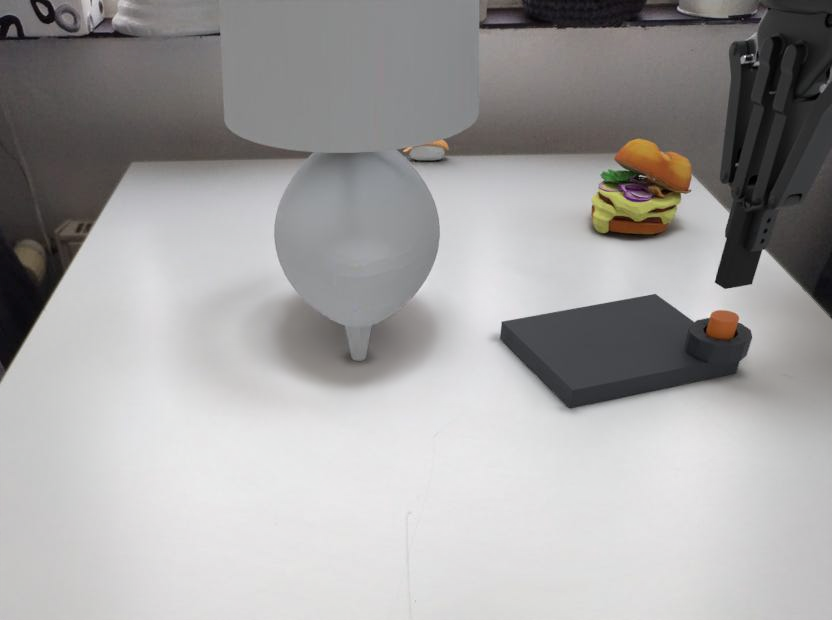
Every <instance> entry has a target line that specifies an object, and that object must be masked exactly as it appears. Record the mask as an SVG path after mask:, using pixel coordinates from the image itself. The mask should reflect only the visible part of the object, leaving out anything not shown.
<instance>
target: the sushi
mask: <svg viewBox="0 0 832 620" xmlns="http://www.w3.org/2000/svg"><path fill="white" fill-rule="evenodd" d="M449 150H450V148H449V145H448V143H447V142H446V141H445V139H442V140H439V141H436V142H432V143H428V144H423V145H419V146H414V147H408V148H404V150H403V151H402V152H403V153H407V152H409V156H410V159H413V160H416V161H420V162H421V161H438V160H441V159H443V158H444V157H445V154H446V153H445V152H446V151H447V152H449Z"/></svg>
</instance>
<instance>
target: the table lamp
mask: <svg viewBox="0 0 832 620" xmlns="http://www.w3.org/2000/svg"><path fill="white" fill-rule="evenodd" d="M218 11H219V12H218V14H219V33H220V34H219V36H220V55H221V58H220V59H221V77H222V98H223V117H224V119H223V121H224V124H225V126H226V128H227V129H229V131H231V132H232V133H233V134H235V135H236V136H238V137H239V138H242V139H244V140H248V141H250V142H252V143H255V144H259V145H262V146H267V147H271V148H276V149H283V150H288V151H297V152H307V153H311V154H310V155H309V156H308V157H307V158H306V159H305V160H304V161H303V163H301V165H300V166H299V167H298V169H297V170H296V171H295V172H294V174H293V175H292V177H291V179H290V180H289V182H288V184H287V186H286V187H285V189H284V191H283V194H282V196H281V197H280V200H279V203H278V206H277V209H276V213H275V219H274V225H273V226H274V227H273V228H274V229H273V237H274V247H275V250H276V251H275V252H276V255H277V259H278V262H279V265H280V267H281V270H282V272H283V274H284V276H285V277H286V279H287V281H288V282H289V284H290V285H291V286H292V288H293V289H294V291H295V292H296V293H297V294H298V295H299V296H300V297H301V298H302V299H303V301H305V303H306V304H308V305H309V306H310V307H312V308H313V310H315V311H317V312H318V313H319V314H321V315H322V316H324V317H325V318H327V319H329V320H331V321H333V322H335V323H337V324H339V325H342V326H344V329H345V333H346V337H347V338H346V339H347V343H348V348H349V353H350V356H351V357H350V358H351V359H352V360H353V361H357V362H361V361H362V362H363V361H364V360H366V359H367V354H368V349H369V344H370V337H371V332H372V326H374V325H377V324H379V323H381V322H383V321H384V320H386V319H388V318H390V317H391V316H393V315H394V314H395V313H397V312H399V310H400V309H402V308H403V307H404V306H406V304H407V303H409V302H410V301H411V300H412V299H413V297H415V295H416V294H417V293H418V292H419V291H420V289H421V288H422V287H423V285H424V284H425V282H426V281H427V279H428V277H429V275H430V273H431V271H432V269H433V267H434V264H435V261H436V258H437V255H438V251H439V247H440V237H441V225H440V217H439V211H438V208H437V205H436V201H435V199H434V197H433V194H432V193H431V191H430V189H429V187H428V185H427V184H426V182H425V180H424V179H423V177H422V175H421V174H420V173H419V171H418V170H417V169H416V168H415V166H414V165H413V164H412V163H411V161H409V159H408V158H406V157H405V155H404V154H403V153H401V152H400V151H399V150H400V149H407V148H408V147H414V146H419V145H423V144H428V143H432V142H436V141H439V140H446V139H449V138H451V137H454V136H456V135H458V134H460V133H462V132H463V131H466V130H467V129H469V128H470V127H472V126H473V125H474V123H476V122H477V120H478V118H479V116H480V0H218Z"/></svg>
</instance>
